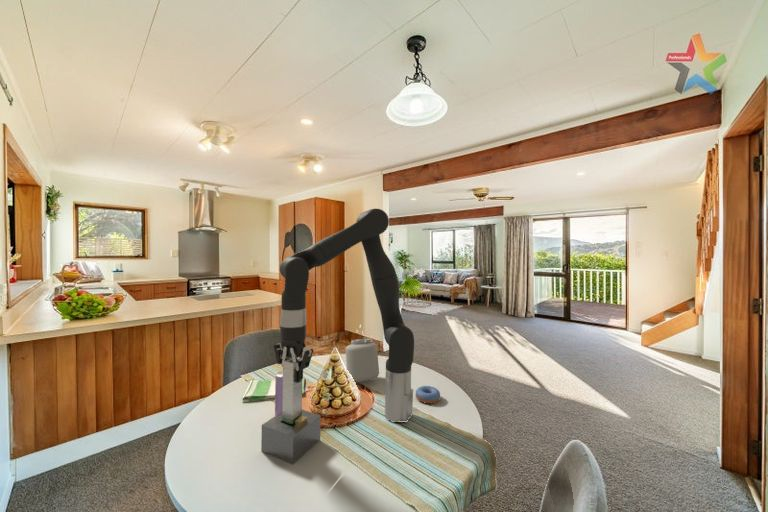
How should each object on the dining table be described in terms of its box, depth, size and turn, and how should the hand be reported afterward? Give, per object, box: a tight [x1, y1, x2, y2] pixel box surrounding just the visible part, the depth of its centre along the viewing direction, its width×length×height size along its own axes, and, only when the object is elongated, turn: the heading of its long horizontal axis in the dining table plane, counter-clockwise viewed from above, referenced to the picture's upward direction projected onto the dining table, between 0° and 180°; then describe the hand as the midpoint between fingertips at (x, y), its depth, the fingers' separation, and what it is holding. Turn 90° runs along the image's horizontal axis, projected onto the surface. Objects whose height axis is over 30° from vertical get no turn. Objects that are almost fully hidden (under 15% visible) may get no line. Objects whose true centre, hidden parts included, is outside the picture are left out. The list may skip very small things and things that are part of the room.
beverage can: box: [274, 370, 283, 417], centre depth 106 cm, size 6×6×15 cm
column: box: [282, 357, 303, 425], centre depth 89 cm, size 4×4×18 cm
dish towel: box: [241, 376, 306, 403], centre depth 125 cm, size 18×23×3 cm
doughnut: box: [415, 385, 441, 404], centre depth 120 cm, size 10×10×5 cm
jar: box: [345, 324, 380, 383], centre depth 138 cm, size 19×15×25 cm
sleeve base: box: [260, 409, 322, 466], centre depth 89 cm, size 12×12×9 cm
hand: (292, 379), depth 89 cm, fingers closed on column, 4 cm apart
